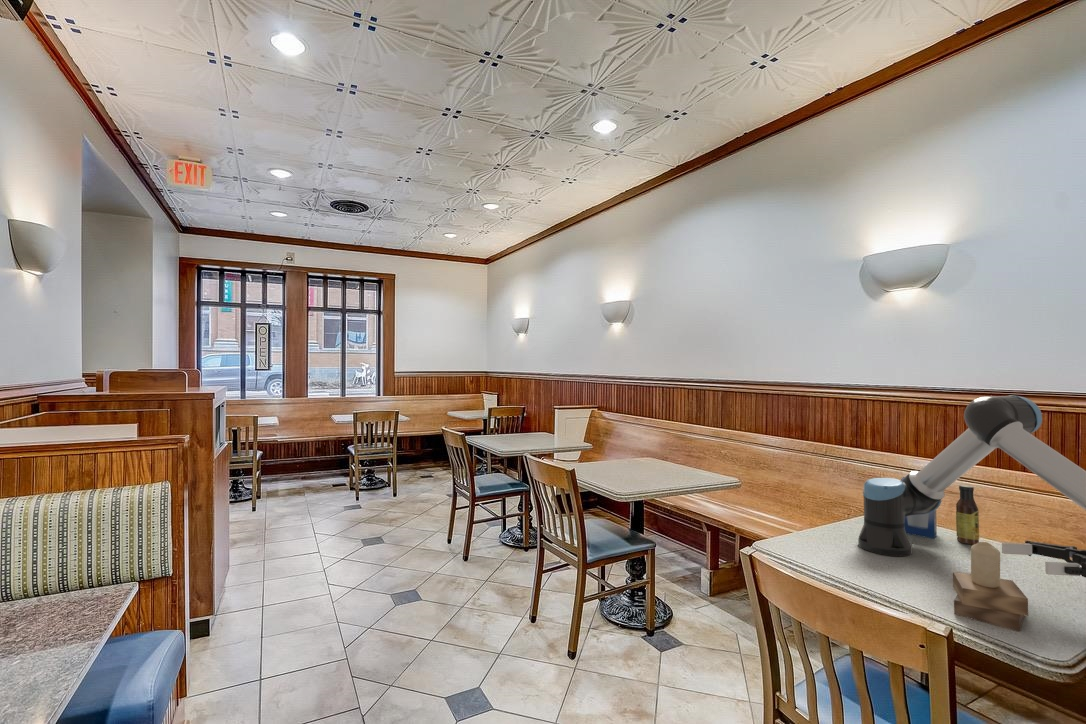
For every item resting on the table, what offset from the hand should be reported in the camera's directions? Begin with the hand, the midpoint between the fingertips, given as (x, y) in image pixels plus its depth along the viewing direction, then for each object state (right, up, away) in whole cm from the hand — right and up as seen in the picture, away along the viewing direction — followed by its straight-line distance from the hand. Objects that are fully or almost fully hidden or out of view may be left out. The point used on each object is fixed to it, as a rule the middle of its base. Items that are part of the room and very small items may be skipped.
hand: (1023, 557), depth 126 cm
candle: (-8, -7, +2) cm, 11 cm away
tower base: (-7, -15, +1) cm, 17 cm away
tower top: (-8, -11, +1) cm, 14 cm away
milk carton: (+22, -16, +65) cm, 70 cm away
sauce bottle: (+32, -16, +55) cm, 66 cm away
